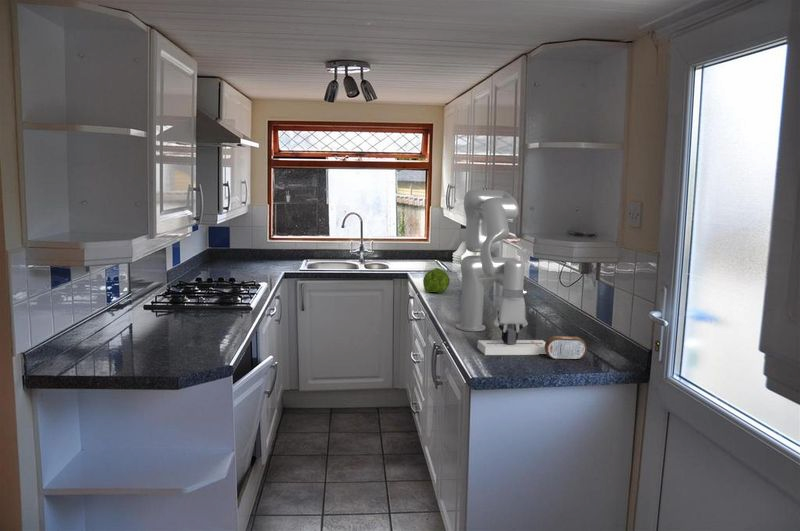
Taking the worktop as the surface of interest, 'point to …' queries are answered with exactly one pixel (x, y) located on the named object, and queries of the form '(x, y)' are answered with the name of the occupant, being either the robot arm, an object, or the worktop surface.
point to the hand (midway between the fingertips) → (509, 341)
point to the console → (512, 347)
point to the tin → (565, 347)
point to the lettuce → (436, 281)
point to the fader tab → (511, 336)
